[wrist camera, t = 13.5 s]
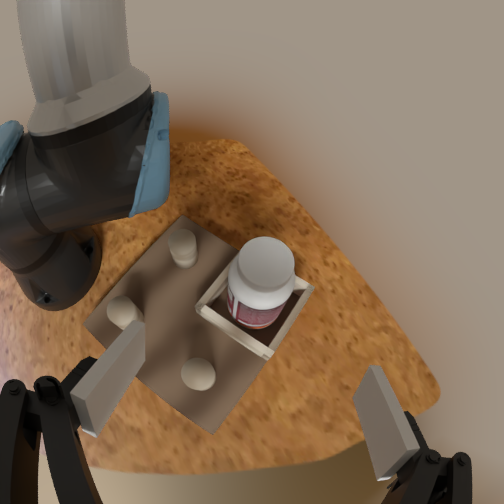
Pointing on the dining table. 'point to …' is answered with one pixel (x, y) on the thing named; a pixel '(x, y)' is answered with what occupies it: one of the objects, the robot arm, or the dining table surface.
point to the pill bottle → (260, 282)
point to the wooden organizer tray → (191, 323)
